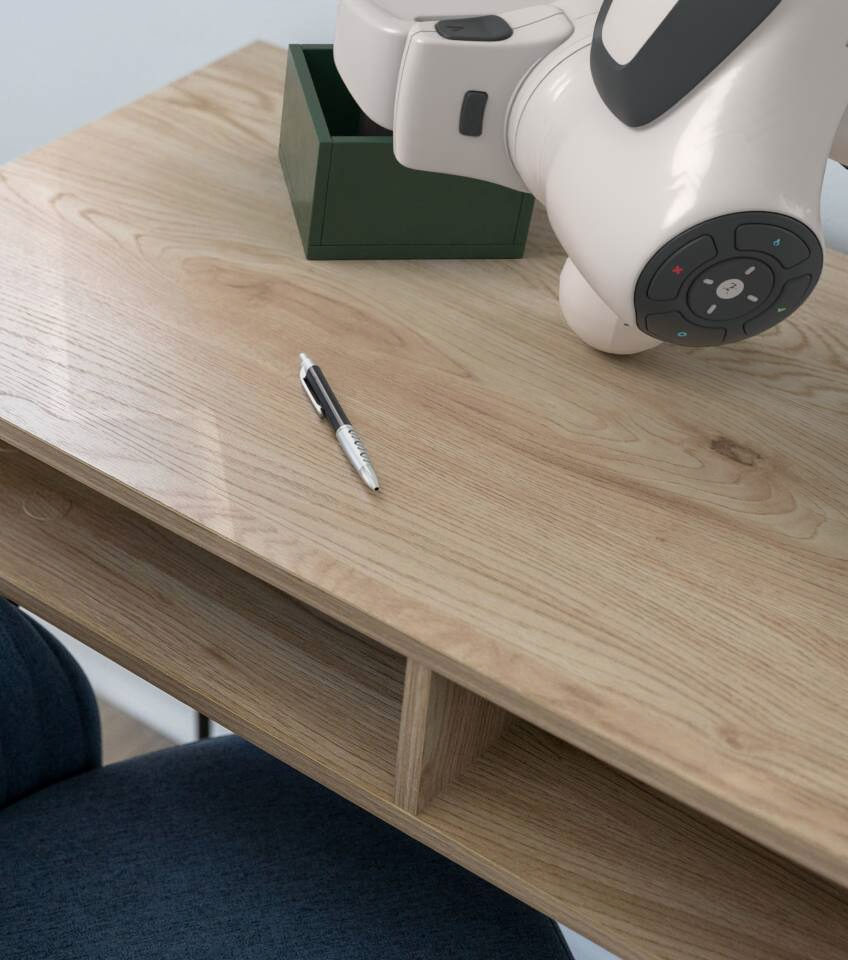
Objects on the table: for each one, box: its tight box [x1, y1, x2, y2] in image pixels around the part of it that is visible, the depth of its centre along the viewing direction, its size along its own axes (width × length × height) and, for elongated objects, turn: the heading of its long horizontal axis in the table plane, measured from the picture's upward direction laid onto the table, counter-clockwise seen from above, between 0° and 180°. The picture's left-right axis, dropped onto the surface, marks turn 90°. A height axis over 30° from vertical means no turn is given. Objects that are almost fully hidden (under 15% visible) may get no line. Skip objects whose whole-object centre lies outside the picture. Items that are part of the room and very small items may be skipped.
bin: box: [277, 43, 536, 260], centre depth 103 cm, size 14×14×8 cm
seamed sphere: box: [558, 256, 664, 355], centre depth 91 cm, size 10×7×7 cm
